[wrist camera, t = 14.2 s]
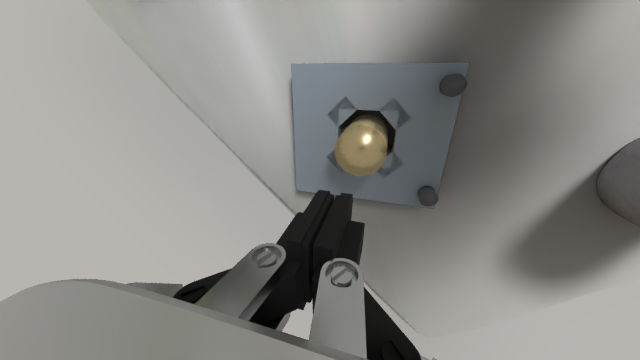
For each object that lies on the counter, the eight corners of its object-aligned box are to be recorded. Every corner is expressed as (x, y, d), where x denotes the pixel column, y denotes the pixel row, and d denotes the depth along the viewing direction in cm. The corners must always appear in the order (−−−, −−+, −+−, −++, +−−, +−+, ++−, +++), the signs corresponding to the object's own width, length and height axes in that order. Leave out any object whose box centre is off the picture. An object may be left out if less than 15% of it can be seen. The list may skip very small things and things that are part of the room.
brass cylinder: (390, 115, 28) (390, 128, 20) (384, 155, 30) (383, 179, 23) (349, 112, 29) (336, 124, 22) (346, 151, 31) (333, 172, 24)
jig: (462, 63, 24) (474, 61, 20) (430, 199, 30) (436, 215, 27) (298, 64, 28) (285, 63, 25) (302, 183, 35) (292, 194, 31)
